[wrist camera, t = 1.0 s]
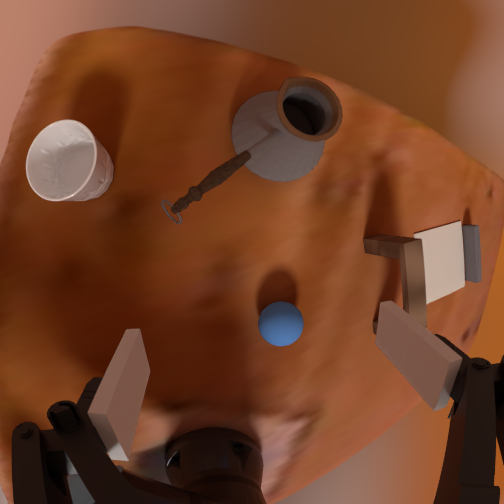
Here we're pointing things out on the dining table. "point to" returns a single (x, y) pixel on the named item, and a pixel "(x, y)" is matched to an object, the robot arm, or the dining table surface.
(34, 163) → the white cup
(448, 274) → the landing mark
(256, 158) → the coffee pot
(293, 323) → the ball
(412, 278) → the bridge
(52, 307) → the dining table surface
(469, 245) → the stopper wall
